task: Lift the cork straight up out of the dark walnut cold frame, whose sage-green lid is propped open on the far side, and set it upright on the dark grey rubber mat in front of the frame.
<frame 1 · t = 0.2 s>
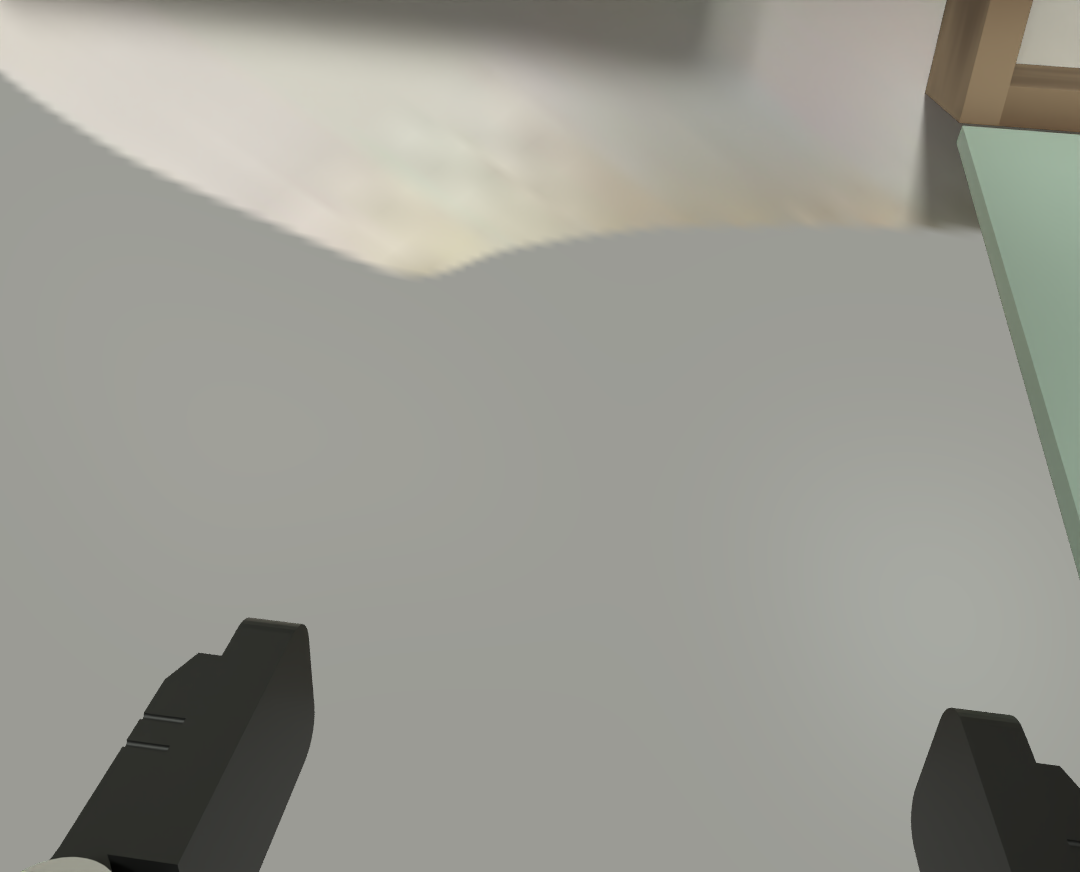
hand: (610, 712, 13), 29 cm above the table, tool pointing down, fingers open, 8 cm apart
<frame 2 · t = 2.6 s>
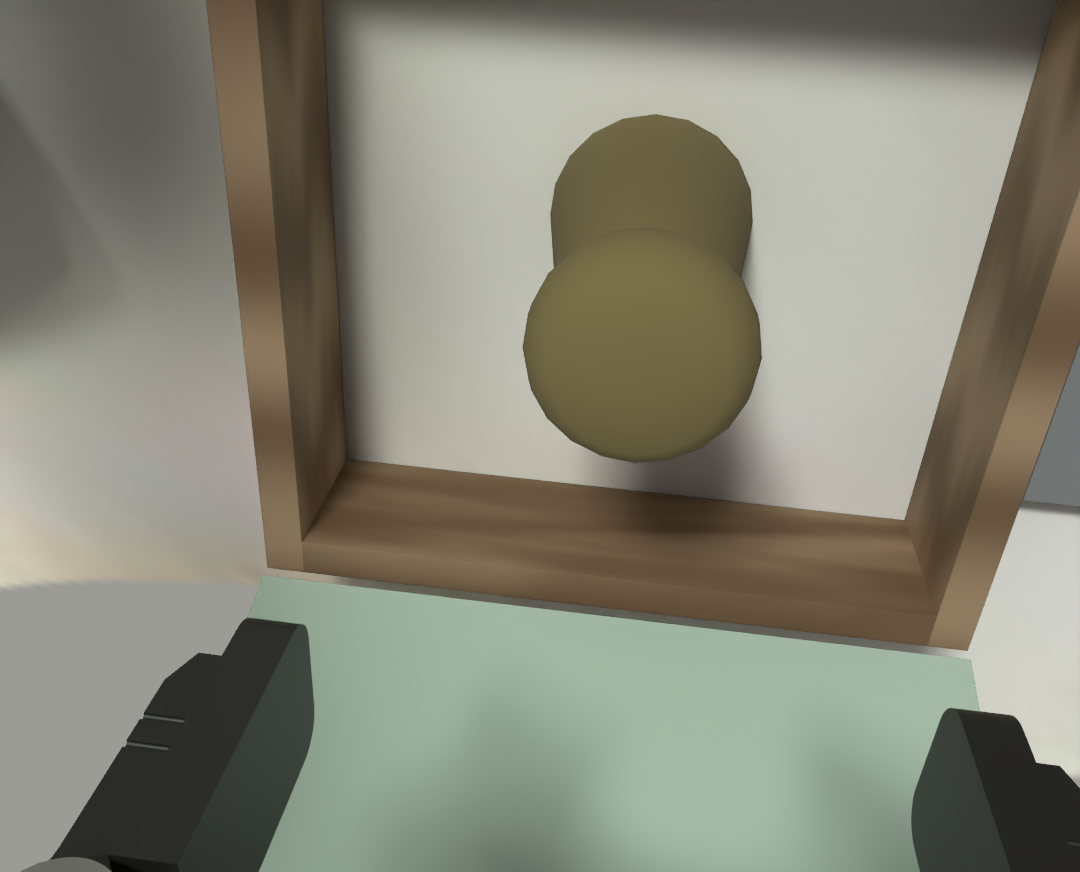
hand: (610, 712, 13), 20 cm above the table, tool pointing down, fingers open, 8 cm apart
cold frame: (650, 217, 30), on the table
cork: (650, 215, 30), resting in cold frame
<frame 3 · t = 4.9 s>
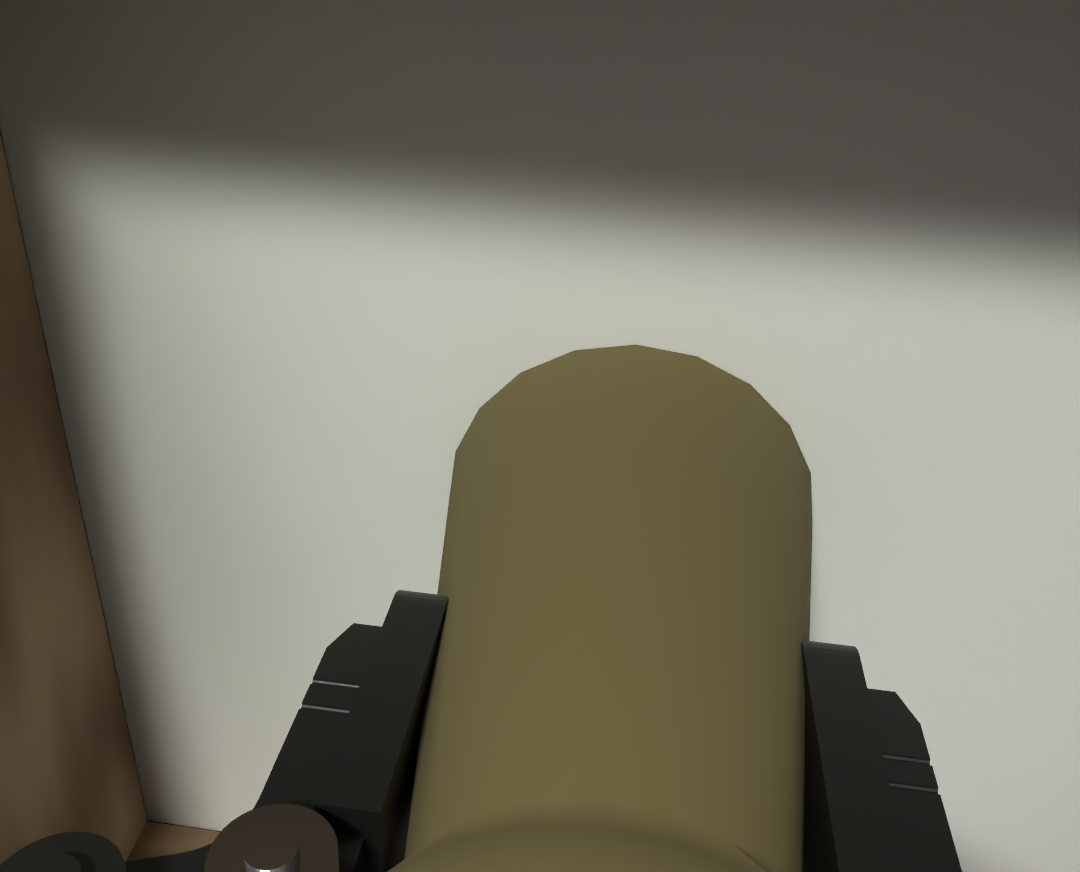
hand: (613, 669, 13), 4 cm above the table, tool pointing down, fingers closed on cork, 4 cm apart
cold frame: (627, 510, 17), on the table
cork: (628, 503, 17), resting in cold frame, touching gripper
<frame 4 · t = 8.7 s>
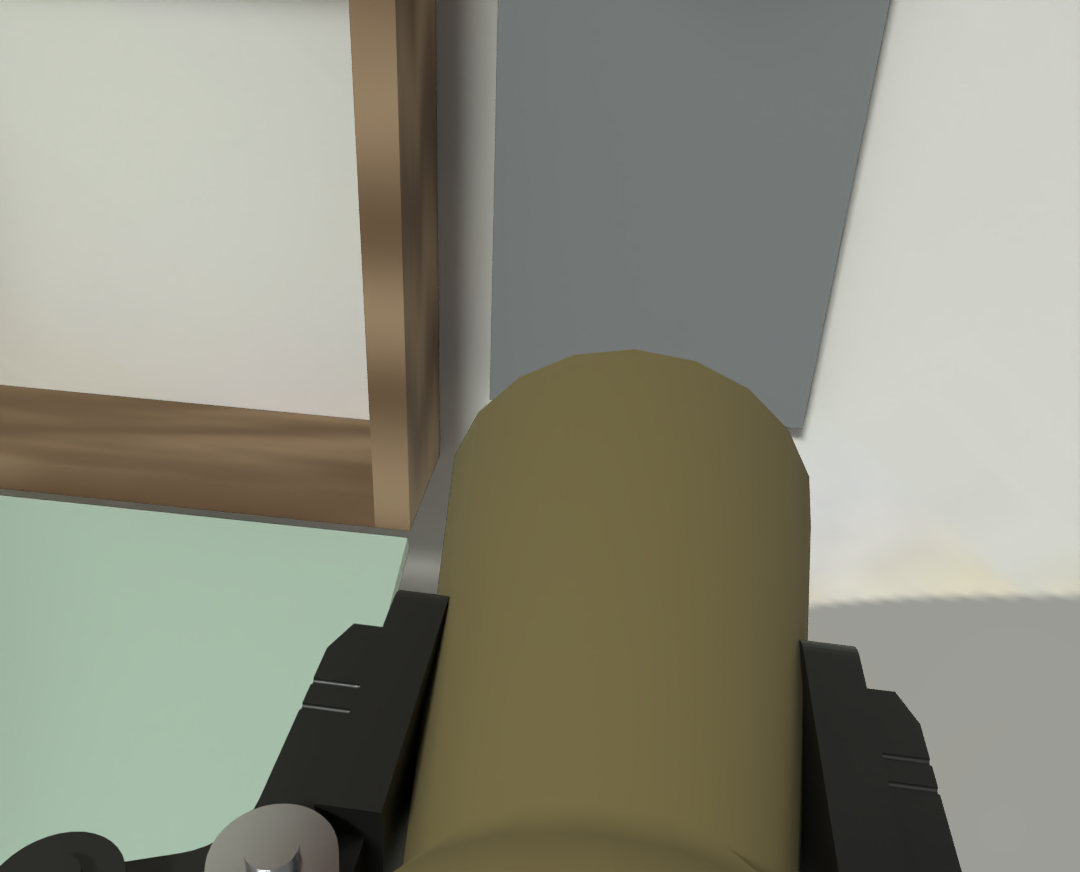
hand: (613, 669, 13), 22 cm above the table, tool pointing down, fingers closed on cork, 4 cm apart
cold frame: (111, 140, 33), on the table
cork: (626, 506, 17), point 18 cm above the table, touching gripper
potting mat: (669, 182, 32), on the table
when the fingers open (5 cm above the table, at t = 12.7 s): cork stays where it is, resting on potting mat.
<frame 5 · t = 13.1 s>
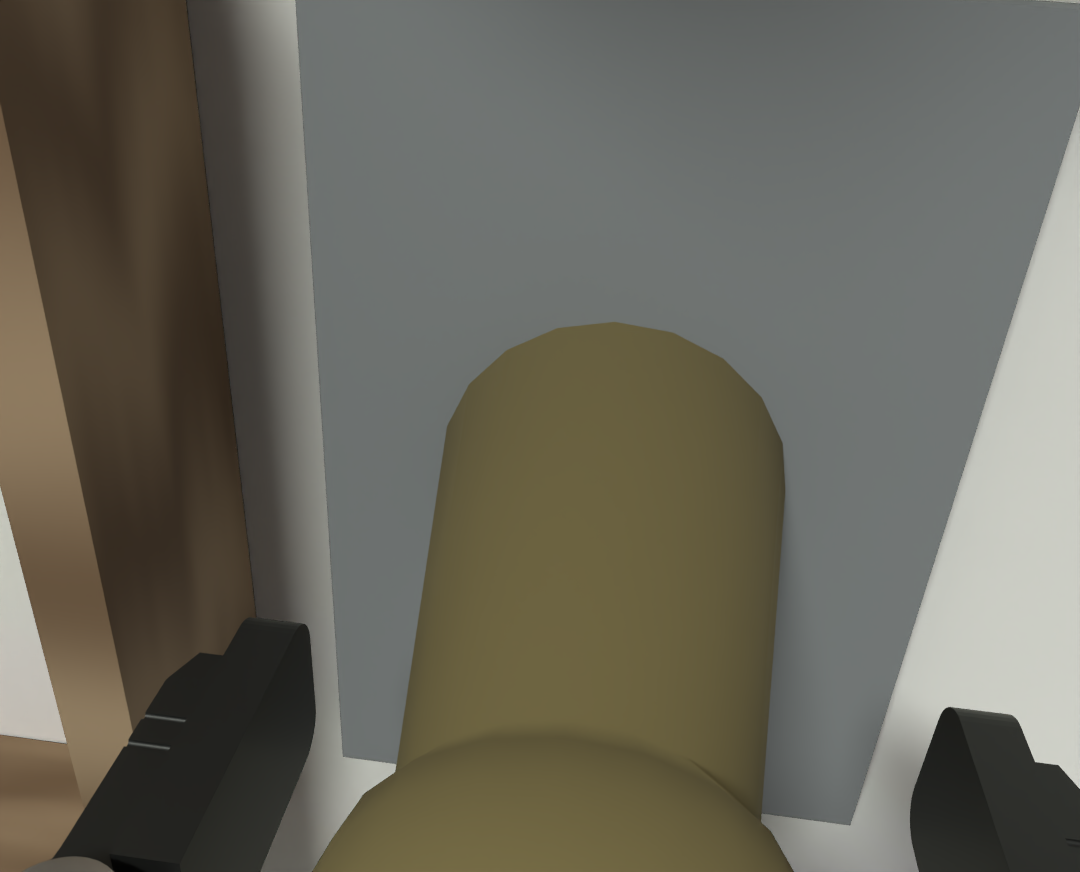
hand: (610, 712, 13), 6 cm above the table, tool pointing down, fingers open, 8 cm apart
cork: (611, 474, 18), point 1 cm above the table, touching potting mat
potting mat: (630, 455, 18), on the table
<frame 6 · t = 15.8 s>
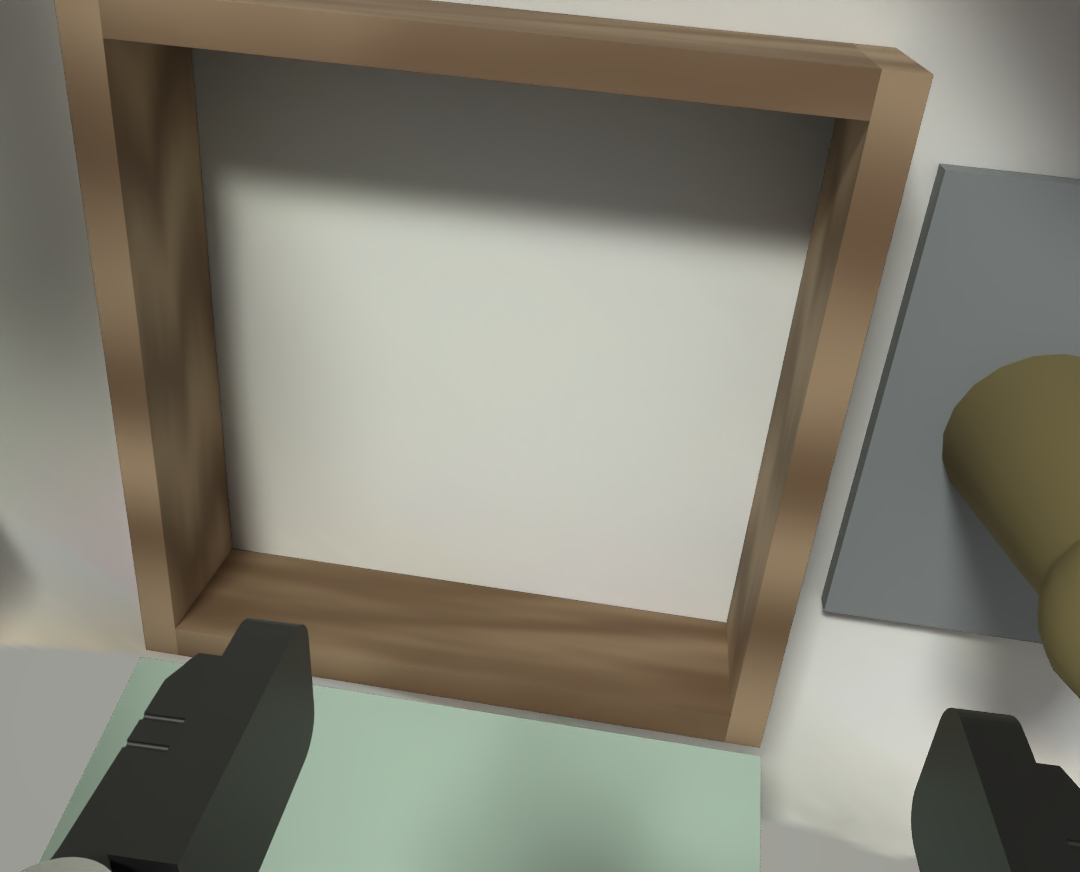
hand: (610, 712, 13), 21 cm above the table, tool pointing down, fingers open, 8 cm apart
cold frame: (488, 355, 34), on the table
cork: (1038, 437, 32), point 1 cm above the table, touching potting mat
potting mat: (1044, 428, 33), on the table
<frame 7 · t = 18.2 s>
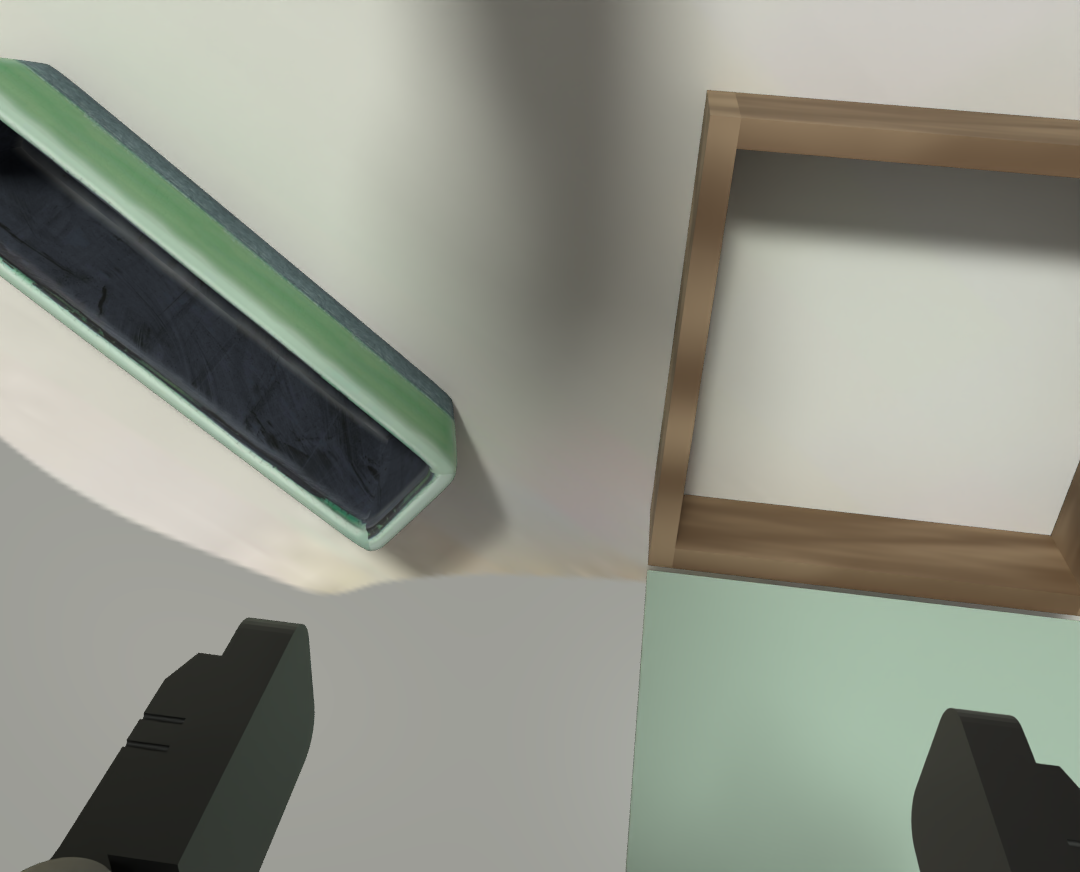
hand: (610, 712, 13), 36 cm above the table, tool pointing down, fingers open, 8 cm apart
planter: (239, 273, 51), on the table
cold frame: (904, 346, 48), on the table
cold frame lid: (893, 824, 42), point 16 cm above the table, hinge at 108.0°
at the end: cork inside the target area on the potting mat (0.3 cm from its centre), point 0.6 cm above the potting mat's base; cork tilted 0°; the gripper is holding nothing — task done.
